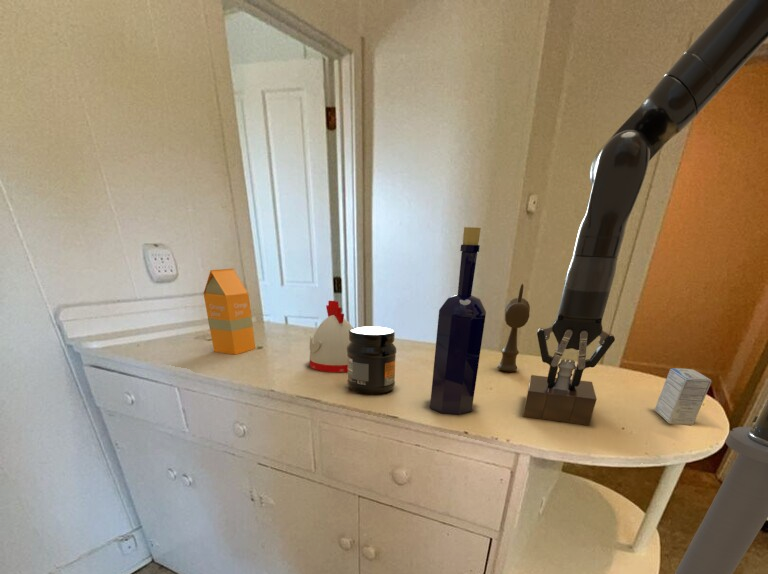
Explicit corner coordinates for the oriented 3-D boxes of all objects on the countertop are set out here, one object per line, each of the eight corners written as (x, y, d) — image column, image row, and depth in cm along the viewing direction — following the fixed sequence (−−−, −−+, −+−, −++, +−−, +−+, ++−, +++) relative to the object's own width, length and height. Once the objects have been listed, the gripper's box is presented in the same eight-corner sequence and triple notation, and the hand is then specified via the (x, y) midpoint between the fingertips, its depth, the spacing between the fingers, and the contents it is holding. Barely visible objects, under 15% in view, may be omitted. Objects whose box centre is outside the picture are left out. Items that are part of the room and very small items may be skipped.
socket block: (585, 405, 88) (592, 381, 86) (588, 425, 79) (596, 399, 76) (526, 398, 91) (531, 374, 89) (522, 416, 82) (528, 390, 79)
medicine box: (693, 426, 80) (713, 380, 75) (667, 424, 81) (686, 378, 76) (676, 412, 86) (694, 369, 82) (653, 410, 87) (670, 367, 82)
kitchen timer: (348, 356, 118) (347, 296, 110) (373, 368, 108) (374, 303, 100) (301, 361, 112) (296, 298, 104) (323, 374, 102) (319, 306, 94)
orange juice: (256, 348, 123) (245, 269, 112) (235, 354, 116) (222, 271, 105) (234, 345, 126) (222, 267, 115) (213, 351, 119) (198, 269, 108)
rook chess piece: (567, 407, 82) (578, 365, 77) (543, 403, 83) (553, 361, 79) (571, 401, 85) (582, 360, 81) (548, 397, 87) (558, 356, 82)
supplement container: (402, 386, 96) (405, 329, 90) (380, 398, 88) (382, 337, 82) (362, 378, 100) (362, 324, 94) (338, 390, 92) (336, 331, 86)
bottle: (464, 398, 90) (487, 228, 74) (481, 413, 83) (511, 228, 66) (422, 400, 88) (436, 226, 72) (436, 415, 81) (455, 226, 64)
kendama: (518, 367, 114) (535, 282, 103) (518, 376, 106) (536, 286, 95) (495, 364, 115) (509, 281, 104) (494, 374, 107) (509, 284, 96)
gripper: (544, 286, 72) (523, 387, 81) (635, 291, 68) (602, 397, 78) (544, 283, 78) (525, 377, 87) (628, 287, 74) (599, 386, 84)
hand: (561, 386), depth 82 cm, fingers closed on rook chess piece, 3 cm apart
